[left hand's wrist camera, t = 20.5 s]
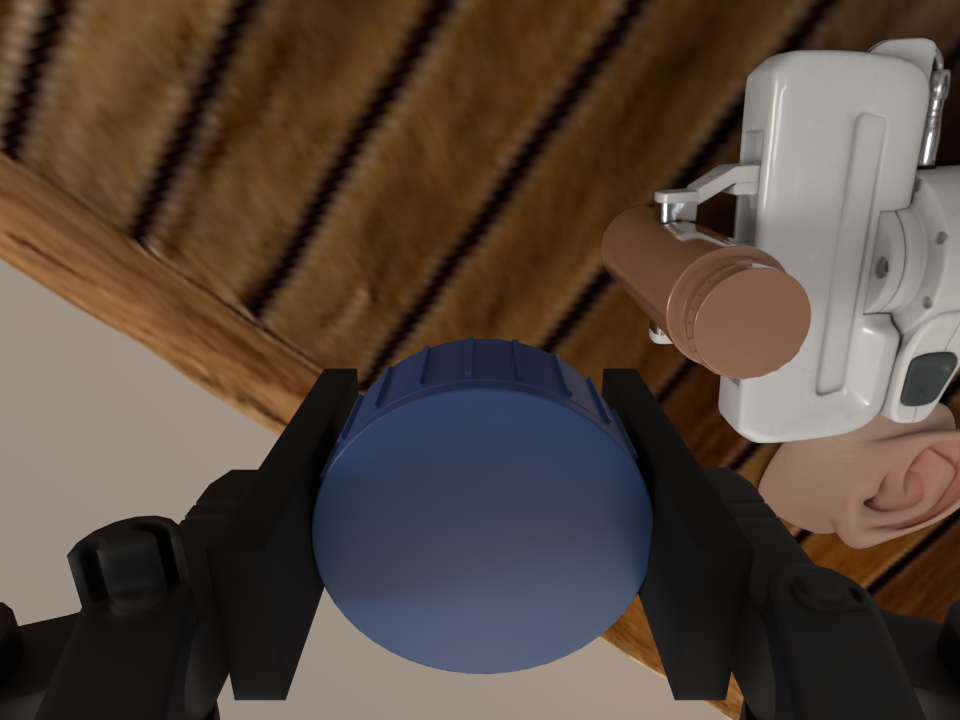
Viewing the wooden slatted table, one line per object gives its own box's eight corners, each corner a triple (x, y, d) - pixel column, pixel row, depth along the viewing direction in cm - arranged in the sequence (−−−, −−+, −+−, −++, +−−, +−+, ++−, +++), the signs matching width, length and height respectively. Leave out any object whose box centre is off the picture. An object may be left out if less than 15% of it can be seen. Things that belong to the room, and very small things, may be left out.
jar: (583, 257, 38) (655, 341, 23) (636, 188, 37) (750, 228, 21) (646, 302, 39) (754, 411, 24) (699, 236, 38) (852, 308, 22)
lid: (683, 416, 12) (731, 483, 10) (534, 622, 14) (545, 718, 12) (417, 279, 11) (401, 317, 9) (295, 520, 13) (255, 604, 11)
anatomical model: (769, 561, 42) (817, 412, 38) (745, 526, 45) (787, 387, 41) (955, 575, 42) (1022, 429, 38) (916, 539, 46) (973, 403, 42)
